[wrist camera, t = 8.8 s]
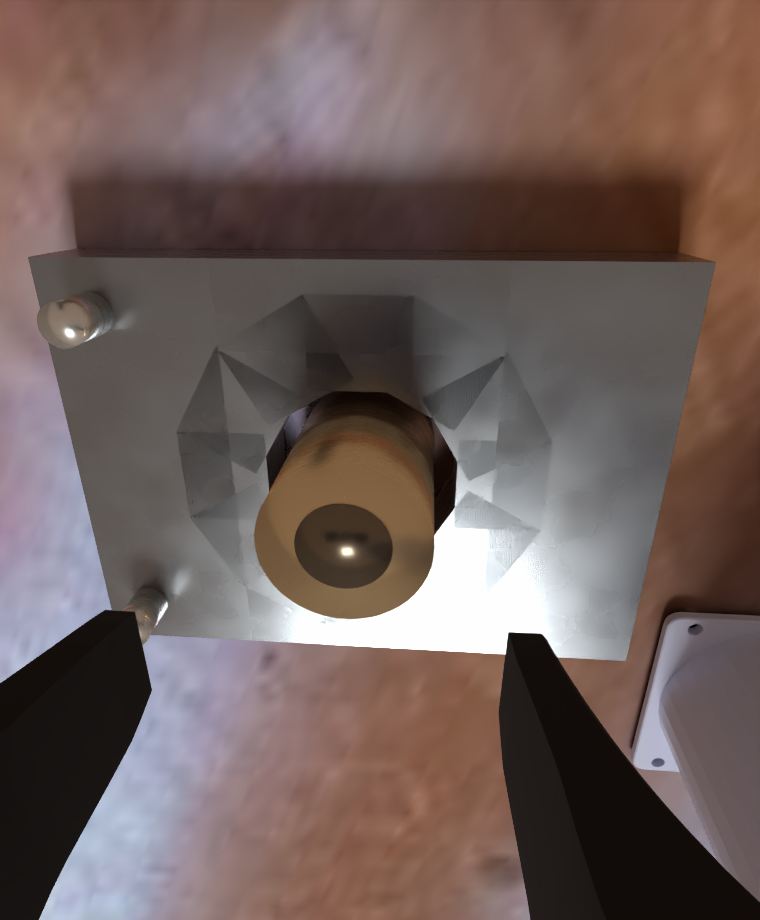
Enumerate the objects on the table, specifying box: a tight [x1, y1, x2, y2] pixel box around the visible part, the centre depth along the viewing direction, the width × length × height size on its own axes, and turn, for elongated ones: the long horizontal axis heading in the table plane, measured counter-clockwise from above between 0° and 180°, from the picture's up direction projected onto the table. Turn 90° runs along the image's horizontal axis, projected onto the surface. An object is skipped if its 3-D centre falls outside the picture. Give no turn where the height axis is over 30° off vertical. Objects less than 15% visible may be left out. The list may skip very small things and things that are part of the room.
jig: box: [28, 249, 716, 661], centre depth 19 cm, size 18×13×4 cm
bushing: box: [254, 391, 435, 619], centre depth 17 cm, size 4×4×7 cm
